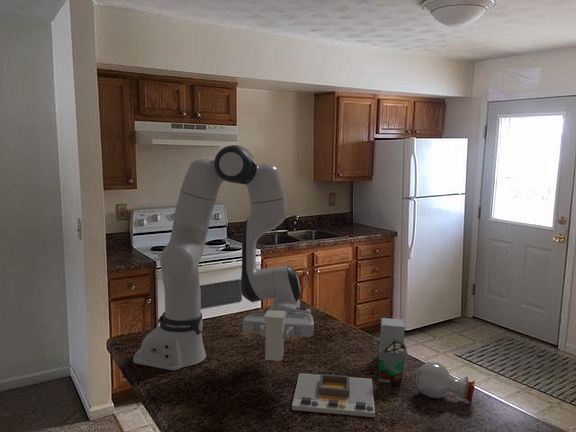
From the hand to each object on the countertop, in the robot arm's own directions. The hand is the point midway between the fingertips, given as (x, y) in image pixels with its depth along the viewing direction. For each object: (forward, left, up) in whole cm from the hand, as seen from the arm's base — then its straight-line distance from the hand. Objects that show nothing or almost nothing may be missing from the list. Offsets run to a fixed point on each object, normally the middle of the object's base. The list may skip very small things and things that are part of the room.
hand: (274, 335), depth 126 cm
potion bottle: (+46, +6, -17) cm, 50 cm away
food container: (+34, +14, -17) cm, 40 cm away
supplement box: (+34, +28, -17) cm, 47 cm away
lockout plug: (0, +1, -6) cm, 7 cm away
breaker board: (+16, +2, -17) cm, 24 cm away
